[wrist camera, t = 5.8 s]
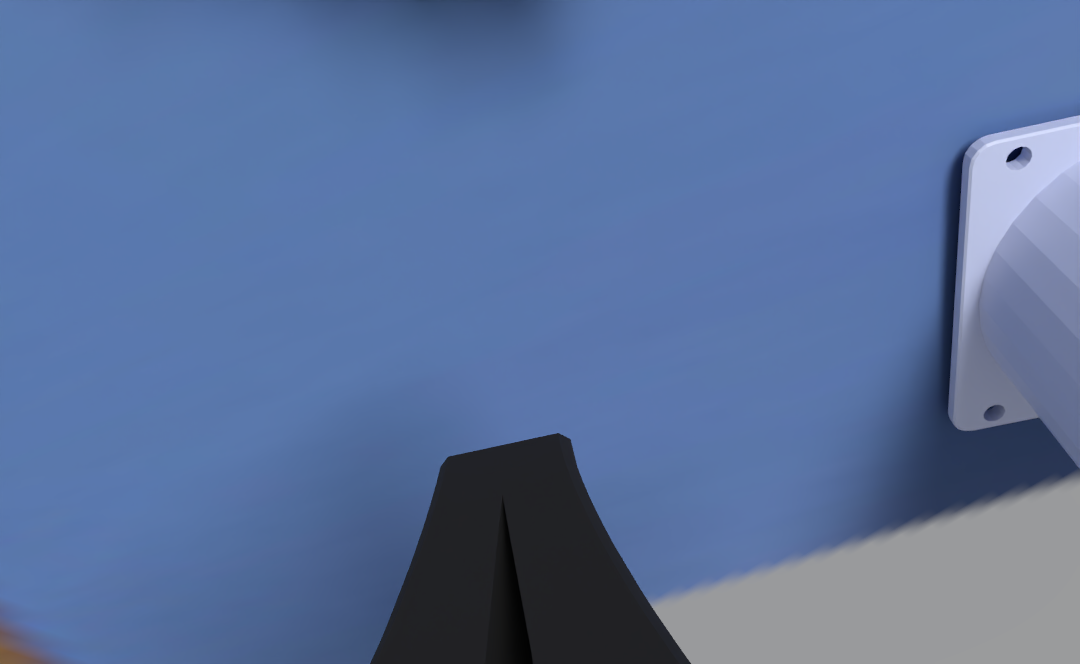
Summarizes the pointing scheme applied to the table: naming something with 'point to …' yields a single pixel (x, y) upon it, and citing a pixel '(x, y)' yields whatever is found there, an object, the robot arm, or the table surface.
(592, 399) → the table surface
